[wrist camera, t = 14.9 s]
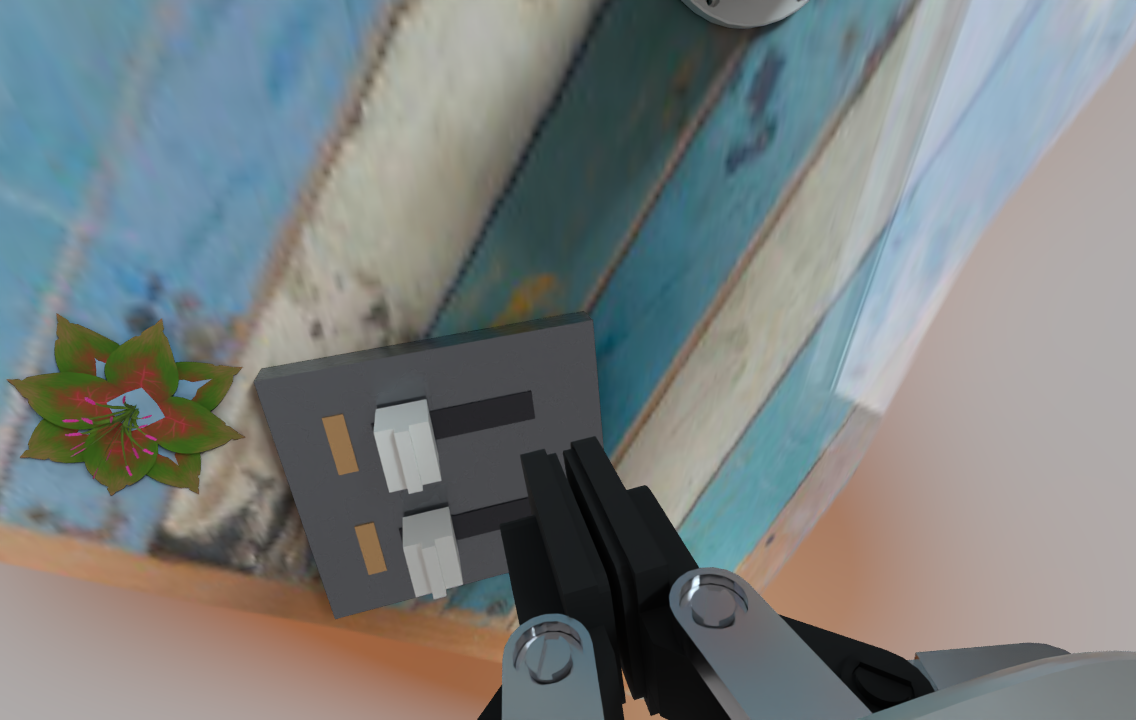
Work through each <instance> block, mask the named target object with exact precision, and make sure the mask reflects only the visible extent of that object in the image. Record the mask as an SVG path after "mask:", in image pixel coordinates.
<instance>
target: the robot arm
mask: <svg viewBox="0 0 1136 720" xmlns="http://www.w3.org/2000/svg"><path fill="white" fill-rule="evenodd" d="M681 1H682V2H683V3H685V4H686V5H687V6H688V7H689V8H690V9H691V10H692V11H693V12H694V13H696V14H697V15H699V16H701V17H703V18H704V19H706V20H708V21H710V22H711V23H714V24H718V25H721V26H724V27H728V28H740V29H749V28H754V27H759V26H764V25H768V24H771V23H773V22H776V21H779V20H782V19H784V18H786V17H787V16H789V15H791V14H793V13H794V12H796V11H798V10H799V9H801V8H802V7H803V6H804V5H805V4H806V3H807V2H809V1H810V0H709V3H708V4H707V2H706V0H681ZM563 458H564V464H565V470H566V476H565V473H564V471H563V468H562V466H561V464H560V461H559V459H558V456H557V454H556V453H552V454H548V455H547V453H546V450H545V449H541V450H537V451H533V452H529V453H525V454H521V455H520V459H521V464H522V469H523V474H524V479H525V484H526V489H527V494H528V499H529V504H530V509H531V514H532V516H528V517H525V518H521V519H517V520H514V521H510V522H506V523H502V524H499V527H500V532H501V536H502V541H503V546H504V551H505V556H506V561H507V566H508V571H509V576H510V580H511V585H512V590H513V595H514V600H515V605H516V610H517V615H518V619H519V624H520V626H519V627H518V628H517V629H516V630H515V631H514V632H513V633H512V635H511V636H510V638H509V640H508V642H507V643H506V645H505V648H504V654H503V663H502V668H503V670H502V685H501V687H500V688H499V689H498V691H497V692H496V694H495V695H494V697H493V698H492V699H491V701H490V702H489V704H488V705H487V706H486V708H485V709H484V711H483V712H482V713H481V715H480V716H479V718H478V719H477V720H624V714H623V708H622V704H624V703H626V700H625V692H624V684H623V677H622V671H623V673H624V676H625V679H626V681H627V684H628V687H629V689H630V692H631V695H632V697H633V699H634V700H636V699H639V698H642V697H644V700H645V702H646V705H647V707H648V710H649V712H650V715H651V716H652V715H655V714H658V713H659V714H660V716H662V717H663V718H665V719H668V720H1136V652H1129V651H1101V652H1100V651H1099V652H1085V653H1073V654H1071V653H1069V652H1067V651H1066V650H1063V649H1060V648H1056V647H1053V646H1051V645H1047V644H1040V643H1019V644H1008V645H996V646H985V647H974V648H962V649H950V650H939V651H928V652H916V653H915V659H914V660H905V659H904V658H903V657H900V656H898V655H896V654H894V653H891V652H889V651H887V650H884V649H881V648H878V647H875V646H872V645H869V644H866V643H863V642H860V641H857V640H854V639H851V638H848V637H845V636H842V635H839V634H836V633H833V632H830V631H827V630H824V629H821V628H818V627H815V626H812V625H809V624H806V623H803V622H800V621H797V620H794V619H791V618H788V617H785V616H782V615H779V614H777V613H776V612H775V611H774V610H773V609H772V608H771V606H770V605H769V604H768V603H767V602H766V601H765V600H764V599H763V598H762V597H761V596H760V595H759V594H758V593H757V592H756V591H755V590H754V589H753V587H752V586H751V585H750V584H749V583H748V582H746V581H745V580H744V579H742V578H741V577H740V576H739V575H737V574H734V573H732V572H730V571H728V570H724V569H719V568H714V567H710V568H699V567H698V565H697V563H696V562H695V560H694V559H693V557H692V555H691V554H690V552H689V551H688V549H687V548H686V546H685V544H684V543H683V541H682V540H681V538H680V536H679V535H678V533H677V532H676V530H675V528H674V527H673V525H672V524H671V522H670V520H669V519H668V517H667V516H666V514H665V512H664V511H663V509H662V508H661V506H660V504H659V503H658V501H657V500H656V498H655V496H654V495H653V493H652V492H651V490H650V489H649V488H648V487H647V486H646V485H644V486H640V487H636V488H633V489H629V490H626V489H625V487H624V485H623V484H622V482H621V480H620V478H619V476H618V475H617V473H616V471H615V469H614V468H613V466H612V464H611V462H610V460H609V459H608V457H607V455H606V453H605V452H604V450H603V448H602V446H601V444H600V443H599V441H598V439H597V438H596V436H593V437H589V438H585V439H581V440H577V441H573V442H571V449H568V450H564V451H563ZM566 477H567V478H566ZM621 668H622V670H621Z"/></svg>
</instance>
